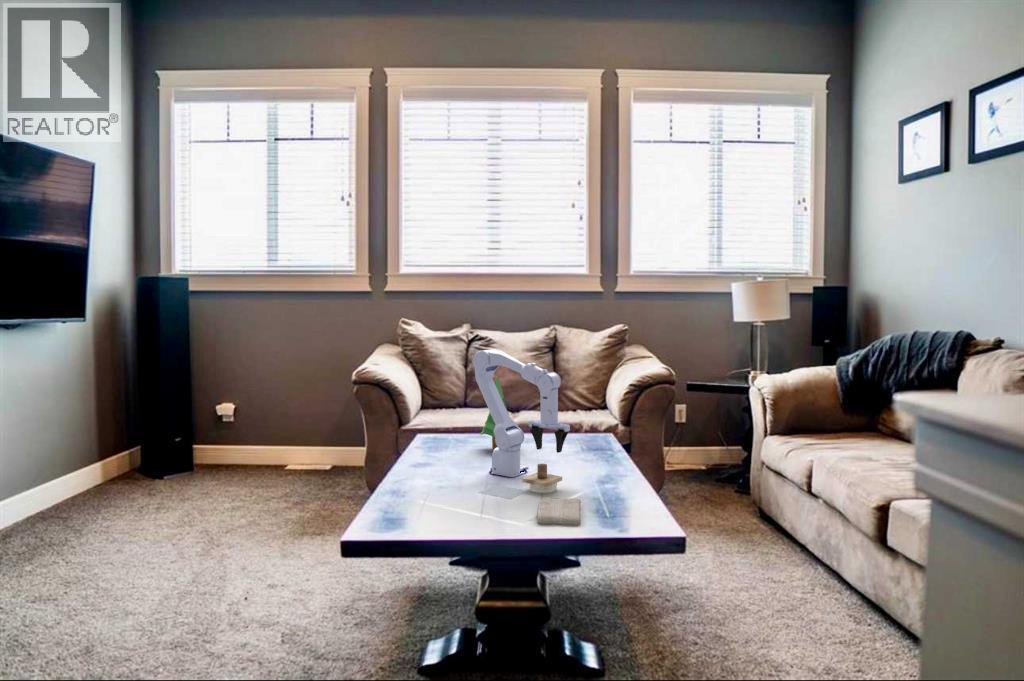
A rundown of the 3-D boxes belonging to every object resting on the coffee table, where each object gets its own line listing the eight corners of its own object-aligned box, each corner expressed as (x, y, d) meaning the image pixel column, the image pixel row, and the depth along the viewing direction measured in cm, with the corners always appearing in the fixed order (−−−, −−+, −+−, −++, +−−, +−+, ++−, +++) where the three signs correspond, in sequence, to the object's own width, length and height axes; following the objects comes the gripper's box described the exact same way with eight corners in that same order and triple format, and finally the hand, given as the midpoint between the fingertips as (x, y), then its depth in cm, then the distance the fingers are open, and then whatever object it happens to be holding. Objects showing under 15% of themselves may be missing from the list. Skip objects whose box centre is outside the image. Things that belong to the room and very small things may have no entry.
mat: (478, 494, 197) (478, 492, 197) (496, 486, 206) (496, 484, 206) (510, 501, 191) (510, 499, 191) (528, 492, 199) (528, 490, 199)
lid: (522, 481, 200) (522, 465, 199) (538, 475, 207) (538, 459, 206) (545, 487, 194) (545, 470, 194) (562, 480, 201) (562, 464, 201)
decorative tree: (472, 449, 256) (471, 374, 254) (501, 443, 266) (501, 371, 264) (494, 455, 246) (493, 378, 244) (523, 449, 256) (523, 374, 254)
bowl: (524, 492, 200) (524, 481, 200) (538, 485, 207) (538, 475, 207) (548, 496, 195) (548, 486, 195) (561, 489, 202) (561, 479, 202)
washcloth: (580, 505, 188) (580, 495, 188) (581, 527, 170) (581, 516, 170) (539, 504, 189) (539, 494, 189) (536, 526, 171) (537, 514, 171)
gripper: (523, 409, 210) (524, 449, 211) (562, 413, 202) (562, 455, 203) (535, 406, 216) (535, 445, 217) (573, 410, 208) (572, 451, 209)
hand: (549, 450), depth 211 cm, fingers open, 7 cm apart
